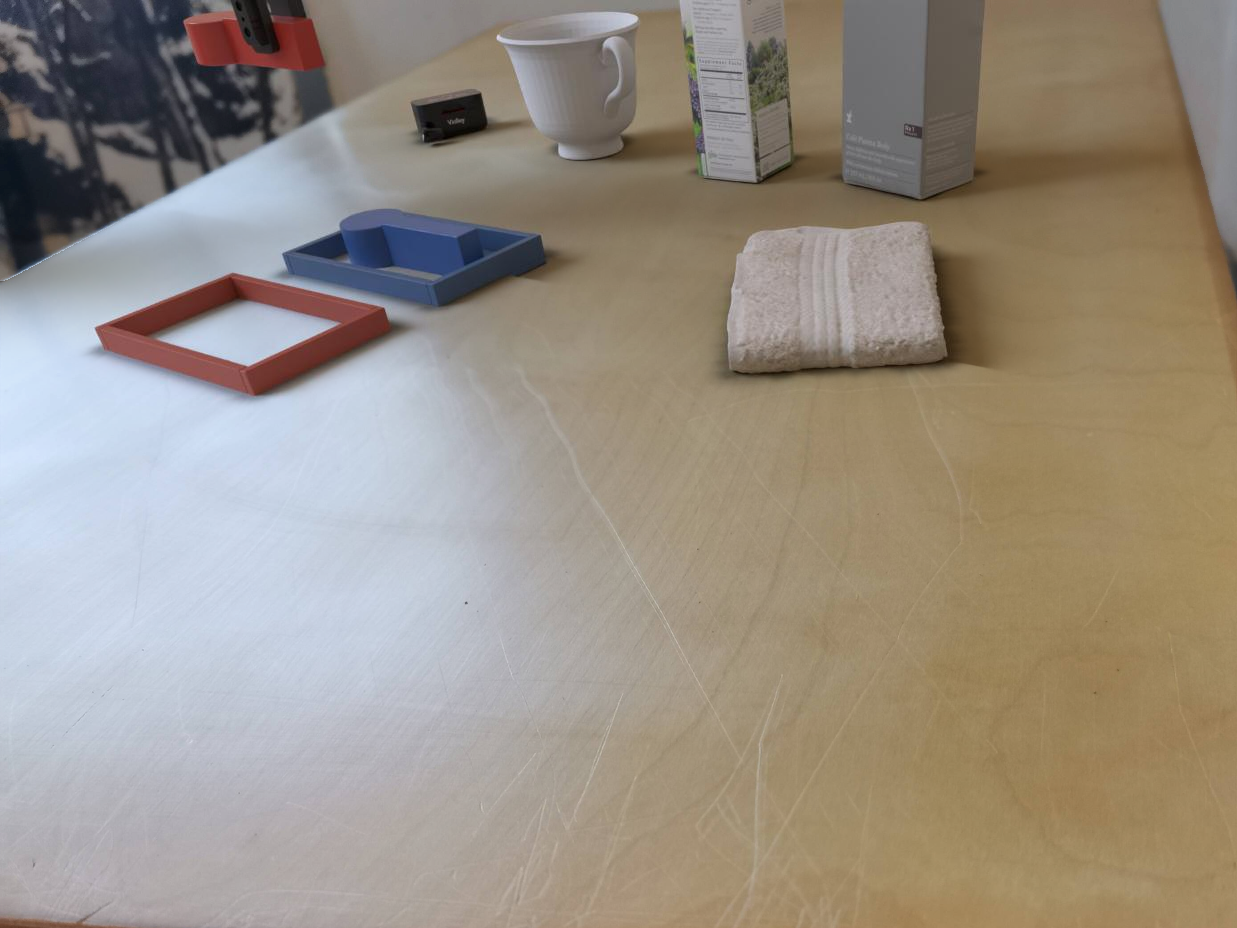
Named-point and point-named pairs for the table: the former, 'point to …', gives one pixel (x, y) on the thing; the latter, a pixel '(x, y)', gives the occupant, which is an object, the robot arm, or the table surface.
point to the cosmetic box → (910, 93)
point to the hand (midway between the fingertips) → (281, 48)
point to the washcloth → (835, 299)
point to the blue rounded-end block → (408, 242)
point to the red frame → (130, 341)
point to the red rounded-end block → (225, 45)
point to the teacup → (577, 78)
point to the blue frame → (501, 257)
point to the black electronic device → (449, 114)
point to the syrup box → (738, 87)
